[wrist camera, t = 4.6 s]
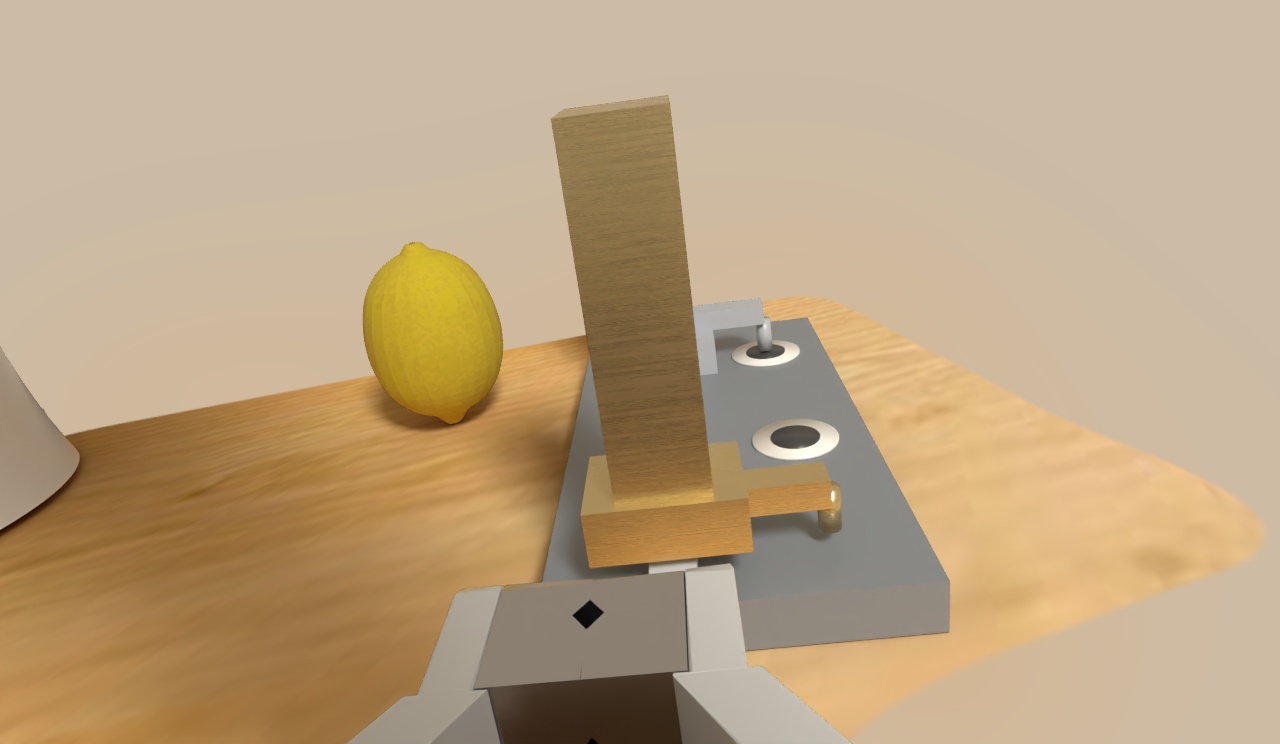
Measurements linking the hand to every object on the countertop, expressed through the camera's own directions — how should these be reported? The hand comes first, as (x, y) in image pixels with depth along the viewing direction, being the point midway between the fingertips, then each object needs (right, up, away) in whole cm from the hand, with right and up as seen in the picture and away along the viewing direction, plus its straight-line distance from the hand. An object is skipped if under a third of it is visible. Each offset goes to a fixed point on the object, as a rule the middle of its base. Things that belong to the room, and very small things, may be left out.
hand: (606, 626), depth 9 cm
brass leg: (+2, -2, +13) cm, 13 cm away
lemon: (-8, 0, +27) cm, 28 cm away
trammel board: (+3, 0, +21) cm, 21 cm away
